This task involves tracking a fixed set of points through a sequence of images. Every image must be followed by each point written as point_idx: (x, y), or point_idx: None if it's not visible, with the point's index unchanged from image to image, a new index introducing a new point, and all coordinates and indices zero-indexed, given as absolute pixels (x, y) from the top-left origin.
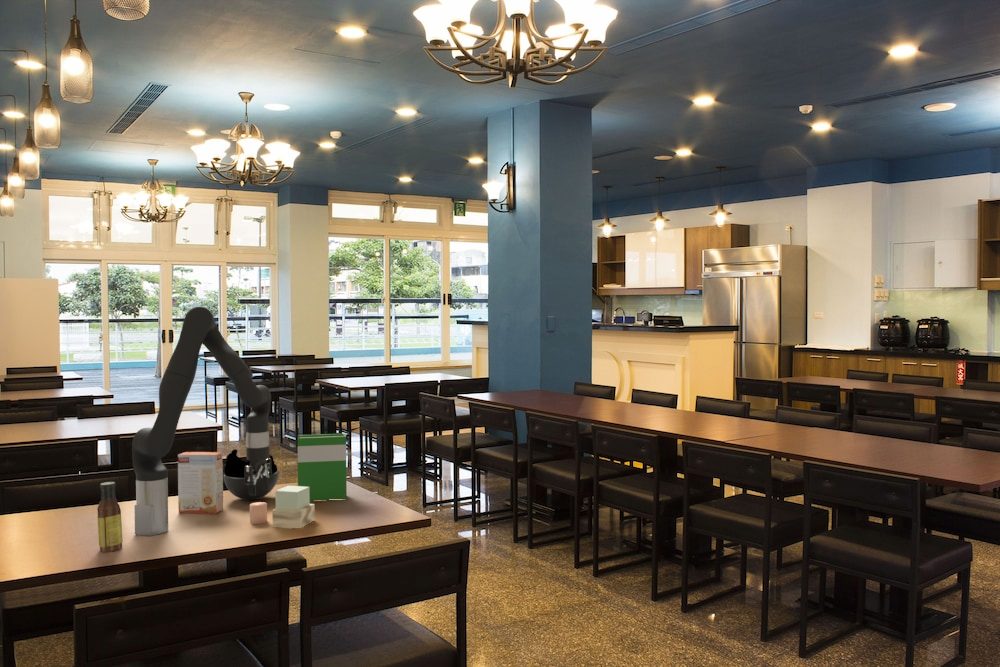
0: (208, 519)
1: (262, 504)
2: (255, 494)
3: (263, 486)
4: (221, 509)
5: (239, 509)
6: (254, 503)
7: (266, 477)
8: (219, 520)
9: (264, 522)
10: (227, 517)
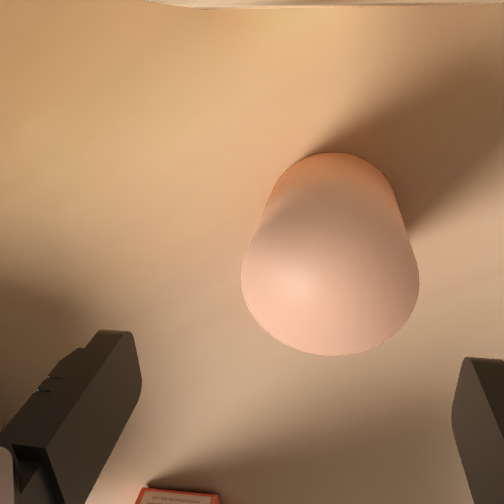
0: (324, 491)
1: (332, 242)
2: (482, 362)
3: (120, 402)
4: (158, 493)
5: None
6: (304, 331)
7: (22, 491)
8: (335, 442)
9: (355, 156)
10: (265, 427)
